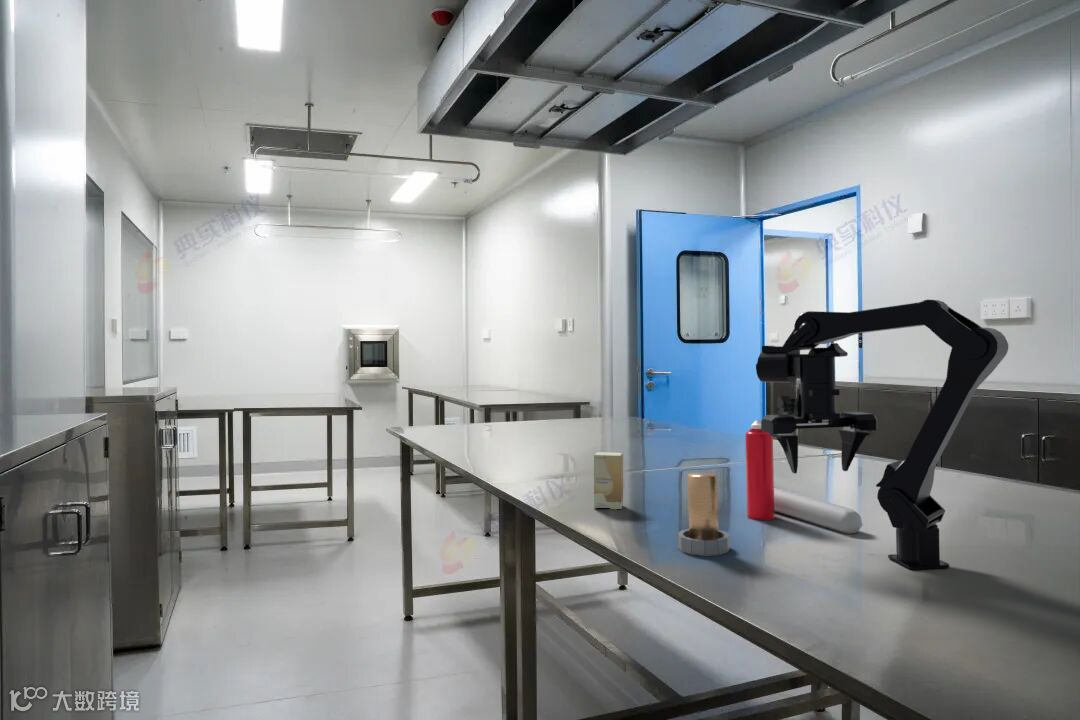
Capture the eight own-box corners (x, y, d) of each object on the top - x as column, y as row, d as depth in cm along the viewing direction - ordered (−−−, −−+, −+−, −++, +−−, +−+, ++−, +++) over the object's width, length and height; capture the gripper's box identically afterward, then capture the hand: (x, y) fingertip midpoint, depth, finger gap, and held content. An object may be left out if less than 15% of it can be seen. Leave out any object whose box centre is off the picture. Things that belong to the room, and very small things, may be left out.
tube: (871, 513, 130) (780, 488, 154) (849, 506, 128) (761, 482, 152) (864, 541, 130) (774, 512, 153) (842, 535, 128) (755, 506, 151)
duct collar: (736, 554, 119) (736, 539, 119) (687, 556, 119) (686, 542, 119) (719, 540, 128) (719, 527, 128) (673, 543, 127) (672, 529, 127)
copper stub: (724, 550, 122) (722, 475, 122) (700, 554, 120) (698, 478, 120) (707, 543, 126) (705, 471, 126) (684, 546, 125) (682, 474, 124)
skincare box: (593, 509, 156) (592, 454, 156) (596, 505, 160) (595, 451, 160) (622, 510, 154) (621, 454, 154) (624, 505, 159) (623, 451, 158)
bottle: (777, 515, 146) (775, 419, 145) (771, 521, 141) (769, 422, 141) (750, 512, 148) (748, 418, 148) (744, 518, 144) (741, 421, 143)
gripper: (845, 379, 131) (846, 462, 132) (748, 382, 130) (750, 466, 130) (878, 382, 120) (880, 472, 120) (773, 385, 119) (775, 477, 119)
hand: (819, 471), depth 123 cm, fingers open, 9 cm apart
